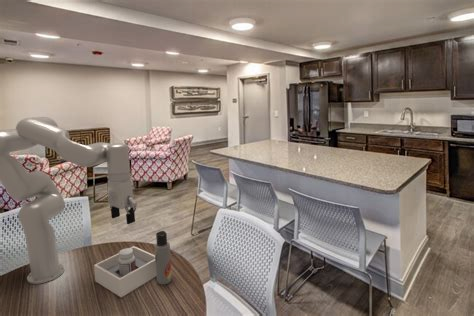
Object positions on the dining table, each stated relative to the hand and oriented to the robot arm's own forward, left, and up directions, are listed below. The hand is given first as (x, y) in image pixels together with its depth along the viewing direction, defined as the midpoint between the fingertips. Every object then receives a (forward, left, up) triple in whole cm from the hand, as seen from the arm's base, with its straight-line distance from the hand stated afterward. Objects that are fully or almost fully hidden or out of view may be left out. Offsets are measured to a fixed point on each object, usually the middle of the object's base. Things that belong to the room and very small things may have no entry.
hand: (123, 220), depth 110 cm
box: (0, 0, -24) cm, 24 cm away
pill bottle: (0, 0, -25) cm, 24 cm away
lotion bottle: (+14, +7, -24) cm, 29 cm away
